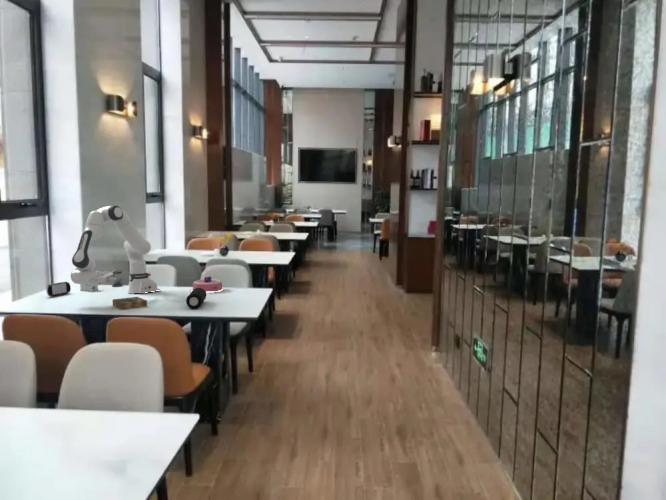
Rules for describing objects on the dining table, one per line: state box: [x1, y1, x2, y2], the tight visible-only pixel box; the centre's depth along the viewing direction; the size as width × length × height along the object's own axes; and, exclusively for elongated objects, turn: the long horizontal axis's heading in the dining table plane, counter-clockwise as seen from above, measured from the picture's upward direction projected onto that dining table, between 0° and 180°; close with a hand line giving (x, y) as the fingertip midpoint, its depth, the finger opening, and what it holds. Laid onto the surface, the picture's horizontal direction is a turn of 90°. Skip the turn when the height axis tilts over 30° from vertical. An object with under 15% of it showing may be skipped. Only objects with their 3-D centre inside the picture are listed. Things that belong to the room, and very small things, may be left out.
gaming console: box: [45, 281, 72, 298], centre depth 391 cm, size 19×9×2 cm
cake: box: [192, 276, 223, 292], centre depth 414 cm, size 25×25×11 cm
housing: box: [111, 269, 124, 288], centre depth 358 cm, size 7×7×10 cm
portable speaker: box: [185, 288, 207, 309], centre depth 361 cm, size 26×10×10 cm, turn 5°
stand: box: [112, 296, 148, 310], centre depth 357 cm, size 16×16×4 cm
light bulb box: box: [79, 284, 99, 292], centre depth 411 cm, size 11×7×11 cm, turn 71°
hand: (118, 277), depth 358 cm, fingers closed on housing, 5 cm apart
